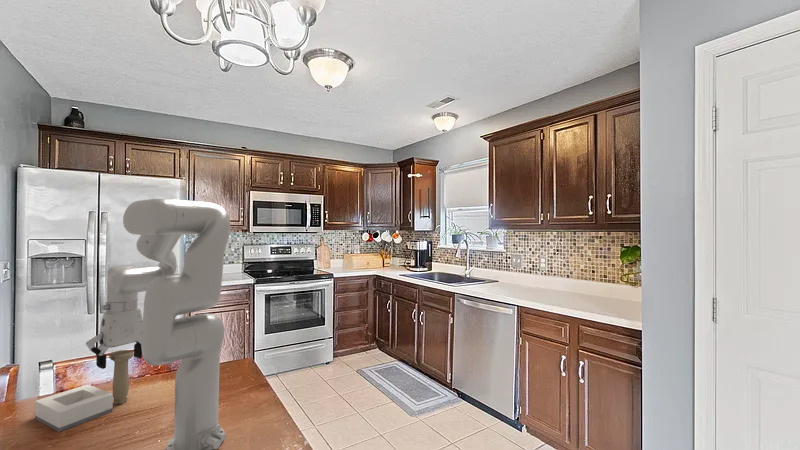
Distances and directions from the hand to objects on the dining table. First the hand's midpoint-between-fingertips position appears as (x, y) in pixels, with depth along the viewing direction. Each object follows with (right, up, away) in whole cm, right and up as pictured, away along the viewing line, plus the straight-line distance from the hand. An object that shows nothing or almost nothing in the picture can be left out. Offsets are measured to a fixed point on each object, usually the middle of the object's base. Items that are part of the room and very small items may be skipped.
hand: (120, 362), depth 111 cm
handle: (0, -12, 0) cm, 12 cm away
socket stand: (-7, -12, -8) cm, 16 cm away
